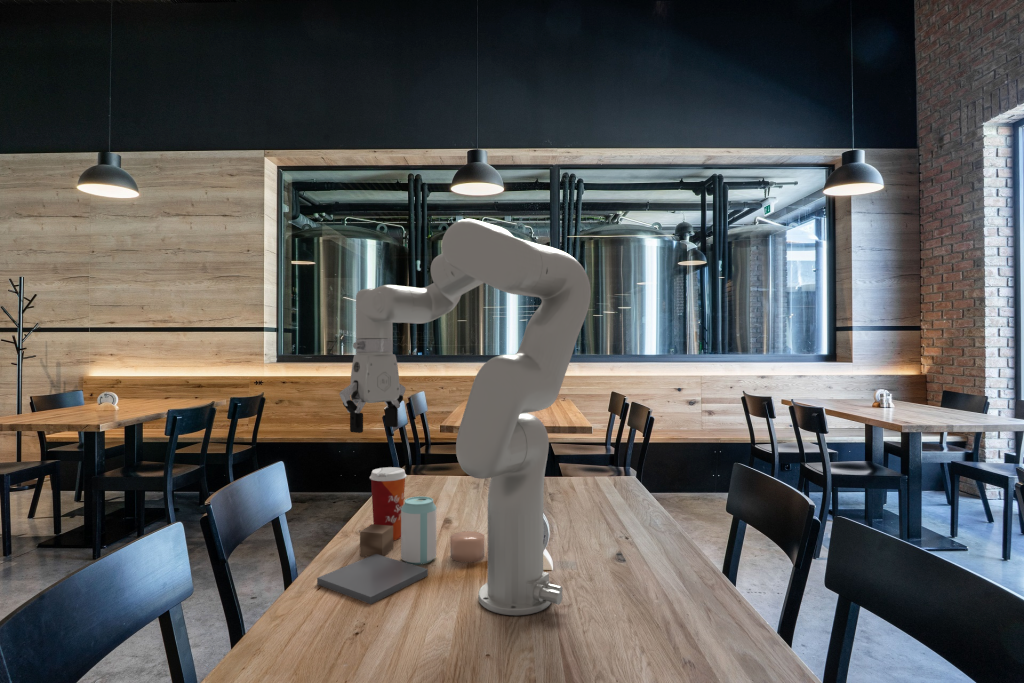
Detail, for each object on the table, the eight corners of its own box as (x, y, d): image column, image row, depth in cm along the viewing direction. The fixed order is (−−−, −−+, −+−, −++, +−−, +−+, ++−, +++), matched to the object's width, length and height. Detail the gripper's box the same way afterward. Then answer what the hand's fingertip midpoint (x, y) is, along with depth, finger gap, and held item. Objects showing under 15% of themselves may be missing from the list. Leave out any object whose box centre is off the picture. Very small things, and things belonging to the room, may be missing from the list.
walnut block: (393, 549, 118) (393, 525, 118) (382, 558, 113) (382, 533, 113) (371, 547, 119) (371, 524, 119) (360, 556, 114) (360, 531, 114)
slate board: (427, 575, 104) (427, 569, 104) (370, 604, 92) (370, 597, 92) (375, 559, 112) (375, 553, 112) (317, 584, 100) (317, 577, 100)
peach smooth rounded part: (491, 554, 115) (491, 535, 115) (470, 565, 109) (470, 545, 109) (464, 547, 119) (464, 529, 119) (443, 558, 113) (443, 538, 113)
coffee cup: (397, 544, 120) (398, 475, 120) (362, 541, 122) (363, 473, 122) (412, 532, 128) (412, 467, 129) (379, 529, 130) (379, 465, 130)
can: (397, 555, 114) (398, 497, 114) (431, 551, 116) (431, 493, 117) (405, 568, 107) (405, 506, 107) (440, 562, 110) (440, 502, 110)
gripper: (354, 347, 107) (354, 436, 107) (416, 347, 122) (416, 425, 121) (328, 348, 111) (329, 433, 111) (391, 348, 126) (391, 423, 125)
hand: (374, 429), depth 116 cm, fingers open, 9 cm apart
